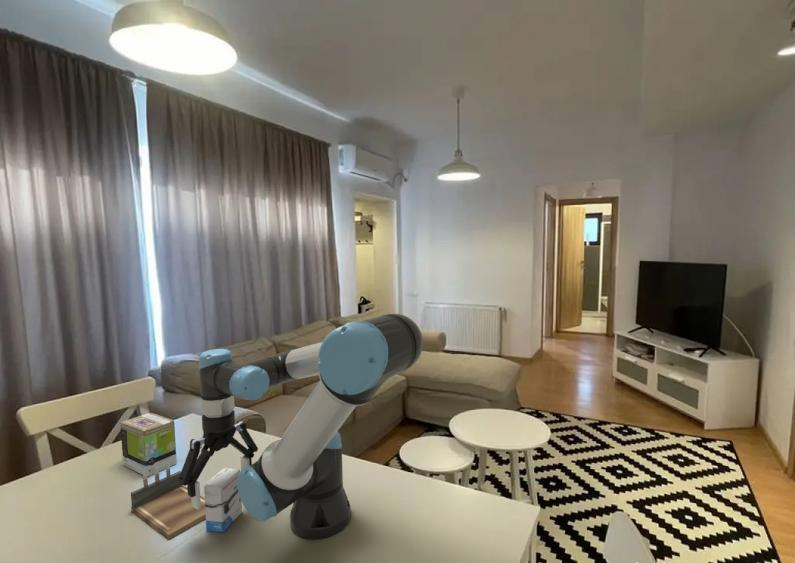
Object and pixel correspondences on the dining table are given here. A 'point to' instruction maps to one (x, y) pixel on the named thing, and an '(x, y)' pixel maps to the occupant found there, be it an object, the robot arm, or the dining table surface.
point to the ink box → (222, 500)
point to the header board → (166, 504)
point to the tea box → (148, 443)
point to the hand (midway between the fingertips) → (222, 493)
